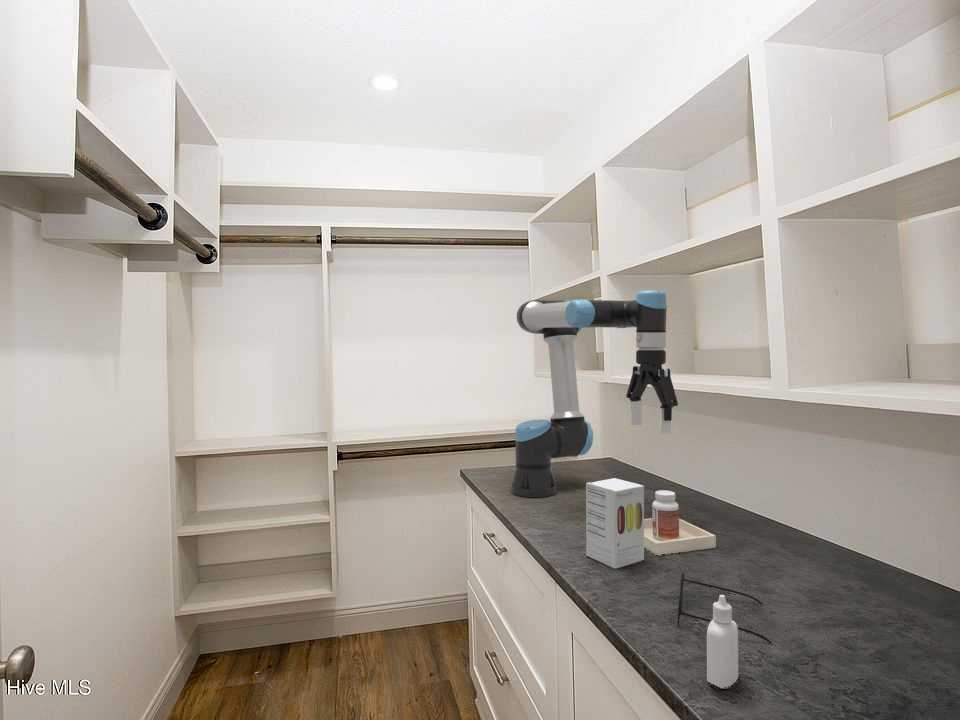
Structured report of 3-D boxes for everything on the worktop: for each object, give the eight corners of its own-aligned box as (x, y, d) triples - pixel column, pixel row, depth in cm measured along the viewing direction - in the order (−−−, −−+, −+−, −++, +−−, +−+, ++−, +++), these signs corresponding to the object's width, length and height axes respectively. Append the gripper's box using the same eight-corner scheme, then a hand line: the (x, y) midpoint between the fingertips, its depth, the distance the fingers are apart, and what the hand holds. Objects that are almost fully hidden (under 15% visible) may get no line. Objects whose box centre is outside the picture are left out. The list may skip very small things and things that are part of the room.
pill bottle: (684, 538, 129) (684, 493, 129) (668, 544, 126) (668, 497, 126) (663, 531, 134) (662, 487, 134) (647, 536, 131) (646, 491, 131)
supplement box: (615, 570, 113) (614, 491, 113) (584, 556, 121) (584, 482, 121) (645, 560, 118) (645, 484, 118) (614, 547, 126) (614, 476, 126)
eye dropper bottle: (695, 674, 77) (695, 591, 76) (729, 667, 78) (728, 586, 78) (716, 693, 72) (715, 605, 72) (751, 686, 74) (750, 600, 73)
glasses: (679, 594, 103) (682, 569, 102) (765, 616, 97) (769, 590, 97) (676, 630, 89) (679, 602, 89) (776, 659, 84) (780, 628, 83)
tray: (619, 532, 136) (619, 521, 136) (673, 526, 140) (673, 515, 140) (656, 555, 120) (656, 543, 120) (715, 547, 125) (715, 535, 125)
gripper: (614, 348, 152) (614, 422, 153) (666, 350, 128) (665, 438, 129) (637, 348, 154) (637, 421, 155) (693, 350, 130) (692, 436, 130)
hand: (650, 428), depth 142 cm, fingers open, 13 cm apart
